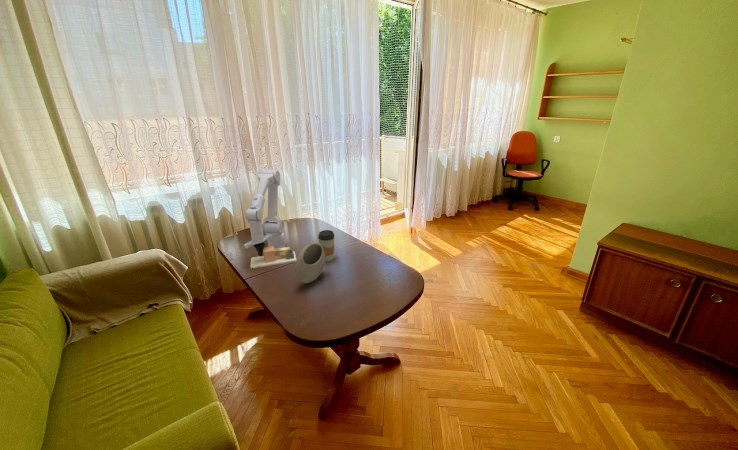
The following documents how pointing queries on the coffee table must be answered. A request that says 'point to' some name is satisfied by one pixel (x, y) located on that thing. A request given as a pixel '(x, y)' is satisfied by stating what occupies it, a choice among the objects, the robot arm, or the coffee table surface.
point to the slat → (281, 252)
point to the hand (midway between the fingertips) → (260, 255)
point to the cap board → (260, 261)
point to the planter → (310, 263)
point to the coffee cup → (327, 243)
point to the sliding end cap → (269, 254)
